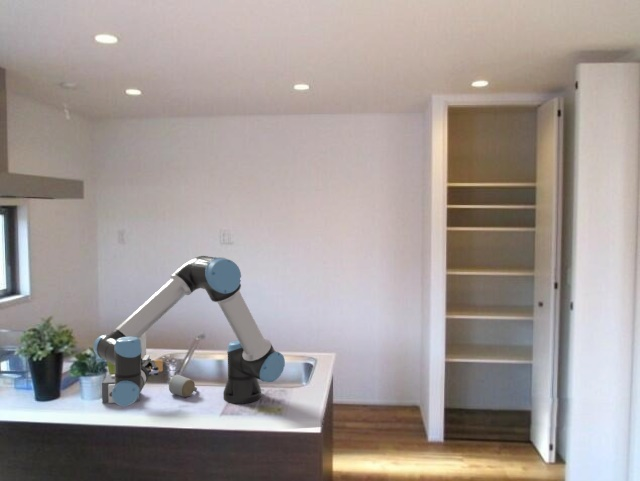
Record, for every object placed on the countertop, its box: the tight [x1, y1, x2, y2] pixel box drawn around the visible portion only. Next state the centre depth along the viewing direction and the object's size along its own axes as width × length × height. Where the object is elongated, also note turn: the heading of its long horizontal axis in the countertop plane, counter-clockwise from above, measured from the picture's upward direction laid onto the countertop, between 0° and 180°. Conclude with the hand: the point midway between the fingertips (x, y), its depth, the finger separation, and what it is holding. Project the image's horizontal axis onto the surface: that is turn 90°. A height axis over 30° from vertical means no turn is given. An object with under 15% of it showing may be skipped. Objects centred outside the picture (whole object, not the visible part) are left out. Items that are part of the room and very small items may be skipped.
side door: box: [108, 359, 164, 404], centre depth 196 cm, size 20×2×16 cm, turn 99°
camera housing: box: [101, 373, 115, 404], centre depth 202 cm, size 14×10×9 cm
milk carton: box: [139, 331, 147, 359], centre depth 246 cm, size 7×7×19 cm
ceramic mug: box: [168, 374, 198, 398], centre depth 206 cm, size 11×8×8 cm
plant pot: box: [105, 360, 115, 375], centre depth 227 cm, size 9×9×9 cm
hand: (147, 358), depth 187 cm, fingers closed
